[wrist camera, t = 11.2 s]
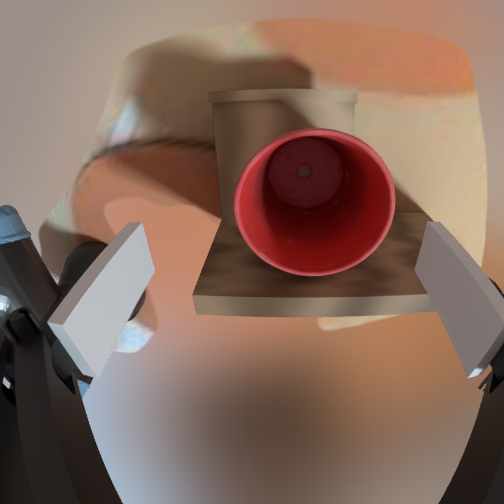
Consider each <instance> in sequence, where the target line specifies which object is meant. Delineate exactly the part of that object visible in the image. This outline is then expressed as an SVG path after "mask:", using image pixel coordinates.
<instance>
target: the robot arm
mask: <svg viewBox="0 0 504 504" xmlns="http://www.w3.org/2000/svg"><path fill="white" fill-rule="evenodd" d="M30 236H31V234H30V232H29V231H27V229H26V227H25V226H24V224H23V222H22V220H21V218H20V216H19V214H18V212H17V211H16V209H15V208H13V207H12V206H9V205H4V206H1V207H0V504H123V503H122V501H121V499H120V497H119V495H118V493H117V491H116V489H115V487H114V485H113V483H112V481H111V478H110V476H109V474H108V472H107V469H106V467H105V465H104V462H103V460H102V457H101V455H100V452H99V450H98V447H97V445H96V442H95V439H94V436H93V433H92V430H91V427H90V424H89V421H88V418H87V415H86V411H85V408H84V405H83V401H82V398H83V396H84V394H85V392H86V391H87V389H88V388H90V384H91V382H92V379H93V377H94V378H99V377H100V375H101V373H102V371H103V369H104V367H105V365H106V363H107V360H108V358H109V356H110V354H111V352H112V350H113V348H114V346H115V344H116V342H117V340H118V338H119V336H120V334H121V332H122V330H123V329H124V327H125V325H126V323H127V322H128V321H130V320H132V319H133V318H134V317H135V316H136V315H137V314H138V312H139V311H140V309H141V307H142V305H143V303H144V301H145V288H146V286H147V284H148V283H149V281H150V279H151V277H152V276H153V274H154V272H155V269H154V266H153V263H152V259H151V255H150V251H149V248H148V244H147V240H146V236H145V232H144V228H143V224H142V222H136V223H128V224H127V225H126V226H125V227H124V228H123V229H122V230H121V231H120V232H119V233H118V235H117V236H116V237H115V238H114V239H113V240H112V241H111V242H110V243H109V245H105V244H102V243H98V242H86V243H83V244H81V245H79V246H78V247H77V248H76V249H75V250H74V251H73V252H72V253H71V254H70V255H69V257H68V258H67V260H66V263H65V266H64V269H63V272H62V274H61V276H60V279H59V282H58V284H56V282H55V281H54V279H53V277H52V276H51V274H50V272H49V271H48V269H47V267H46V266H45V264H44V262H43V260H42V259H41V257H40V255H39V253H38V251H37V249H36V248H35V246H34V244H33V242H32V240H31V238H30ZM414 271H415V273H416V274H417V276H418V278H419V279H420V281H421V283H422V285H423V286H424V288H425V290H426V292H427V294H428V295H429V297H430V299H431V301H432V303H433V305H434V306H435V308H436V310H437V312H438V314H439V316H440V318H441V320H442V322H443V324H444V326H445V328H446V330H447V332H448V334H449V336H450V338H451V341H452V343H453V345H454V347H455V349H456V351H457V354H458V356H459V358H460V361H461V363H462V365H463V368H464V370H465V373H466V375H467V378H470V377H473V376H477V375H480V374H482V373H483V372H484V370H485V369H486V368H487V366H488V365H489V364H490V365H491V367H492V371H491V372H490V373H489V374H488V376H487V377H486V378H485V379H484V380H483V382H482V383H481V384H480V386H479V389H481V388H482V387H483V385H484V384H486V387H485V389H484V390H483V391H484V395H483V399H482V402H481V405H480V409H479V412H478V415H477V418H476V421H475V425H474V427H473V430H472V433H471V436H470V438H469V441H468V443H467V446H466V448H465V451H464V453H463V456H462V458H461V460H460V463H459V465H458V467H457V469H456V471H455V474H454V476H453V477H452V480H451V482H450V484H449V485H448V487H447V489H446V491H445V493H444V495H443V497H442V498H441V500H440V502H439V504H504V294H502V291H501V290H500V288H499V287H498V285H497V284H496V283H495V282H494V281H492V280H491V279H490V278H489V277H487V275H486V274H485V273H484V272H483V270H482V269H481V268H480V267H479V265H478V264H477V263H476V262H475V260H474V259H473V258H472V257H471V256H470V255H469V253H468V252H467V251H466V250H465V249H464V248H463V246H462V245H461V244H460V243H459V242H458V241H457V240H456V239H455V237H454V236H453V235H452V234H451V233H450V232H449V231H448V230H447V229H446V228H445V227H444V226H443V225H442V224H441V223H440V222H430V221H427V225H426V229H425V233H424V237H423V241H422V245H421V249H420V252H419V256H418V260H417V263H416V266H415V270H414ZM4 377H5V378H6V380H7V381H8V382H10V388H9V389H8V388H7V387H6V386H5V385H4V384H3V378H4Z"/></svg>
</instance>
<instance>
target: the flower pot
mask: <svg viewBox="0 0 504 504" xmlns="http://www.w3.org/2000/svg"><path fill="white" fill-rule="evenodd" d="M233 207H234V215H235V220H236V224H237V226H238V229H239V231H240V233H241V235H242V237H243V238H244V240H245V242H246V243H247V245H248V246H249V247H250V248H251V249H252V250H253V252H255V253H256V254H257V255H258V256H259V257H260V258H261V259H263V260H264V261H265V262H267V263H269V264H270V265H272V266H274V267H276V268H278V269H280V270H283V271H286V272H289V273H292V274H297V275H302V276H323V275H329V274H334V273H337V272H340V271H343V270H346V269H348V268H351V267H353V266H355V265H357V264H358V263H360V262H361V261H363V260H364V259H365V258H367V257H368V256H369V255H370V254H371V253H373V252H374V251H375V250H376V249H377V247H378V246H379V245H380V244H381V242H382V241H383V239H384V238H385V236H386V234H387V232H388V230H389V228H390V226H391V223H392V220H393V216H394V212H395V189H394V184H393V180H392V177H391V174H390V172H389V170H388V168H387V166H386V164H385V163H384V161H383V160H382V158H381V157H380V156H379V155H378V154H377V153H376V152H375V151H374V150H373V149H372V148H371V147H370V146H369V145H368V144H366V143H365V142H363V141H362V140H360V139H358V138H356V137H354V136H352V135H350V134H347V133H344V132H341V131H337V130H333V129H326V128H306V129H300V130H295V131H292V132H288V133H286V134H283V135H281V136H279V137H277V138H275V139H273V140H272V141H270V142H268V143H267V144H265V145H264V146H263V147H262V148H261V149H259V150H258V151H257V152H256V153H255V154H254V155H253V156H252V158H251V159H250V160H249V161H248V163H247V164H246V166H245V167H244V169H243V171H242V173H241V175H240V177H239V179H238V181H237V184H236V187H235V192H234V199H233Z"/></svg>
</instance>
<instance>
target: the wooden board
mask: <svg viewBox="0 0 504 504" xmlns="http://www.w3.org/2000/svg"><path fill="white" fill-rule="evenodd" d="M427 221H430V222H434V221H433V220H432V219H431V218H430V217H429V216H428V215H427V214H426V213H423V212H407V211H395V212H394V216H393V220H392V223H391V226H390V228H389V230H388V232H387V234H386V236H385V238H384V239H383V241H382V242H381V244H380V245H379V246H378V247H377V249H376V250H375V251H374V252H373V253H371V254H370V255H369V256H368V257H367V258H365V259H364V260H363V261H361V262H360V263H358V264H357V265H355V266H353V267H351V268H348V269H346V270H343V271H340V272H337V273H334V274H329V275H323V276H302V275H297V274H292V273H289V272H286V271H283V270H280V269H278V268H276V267H274V266H272V265H270V264H269V263H267V262H265V261H264V260H263V259H261V258H260V257H259V256H258V255H257V254H256V253H255V252H253V250H252V249H251V248H250V247H249V246H248V245H247V243H246V242H245V240H244V238H243V237H242V235H241V233H240V231H239V229H238V227H223V218H222V221H221V223H220V225H219V228H218V231H217V233H216V235H215V238H214V240H213V243H212V245H211V248H210V250H209V253H208V256H207V258H206V260H205V263H204V266H203V268H202V271H201V273H200V276H199V279H198V281H197V284H196V286H195V289H194V292H193V295H192V296H193V301H194V305H195V309H196V313H197V314H205V315H224V316H225V315H226V316H252V317H253V316H254V317H343V316H370V315H390V314H405V313H419V312H430V311H437V310H436V308H435V306H434V305H433V303H432V301H431V299H430V297H429V295H428V294H427V292H426V290H425V288H424V286H423V285H422V283H421V281H420V279H419V278H418V276H417V274H416V273H415V271H414V270H415V266H416V263H417V260H418V256H419V252H420V249H421V245H422V241H423V237H424V233H425V229H426V225H427Z"/></svg>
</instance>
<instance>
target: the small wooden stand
mask: <svg viewBox="0 0 504 504" xmlns="http://www.w3.org/2000/svg"><path fill="white" fill-rule="evenodd" d="M209 101H210V103H212V108H213V121H214V133H215V145H216V156H217V168H218V178H219V189H220V199H221V209H222V218H223V227H238V226H237V224H236V220H235V215H234V207H233V199H234V192H235V187H236V184H237V181H238V179H239V177H240V175H241V173H242V171H243V169H244V167H245V166H246V164H247V163H248V161H249V160H250V159H251V158H252V156H253V155H254V154H255V153H256V152H257V151H258V150H259V149H261V148H262V147H263V146H264V145H265V144H267V143H268V142H270V141H272V140H273V139H275V138H277V137H279V136H281V135H283V134H286V133H288V132H292V131H295V130H300V129H306V128H326V129H333V130H337V131H341V132H344V133H347V134H350V135H352V136H353V135H354V103H357V93H356V92H346V91H334V90H318V89H250V90H233V91H221V92H210V93H209Z"/></svg>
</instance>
